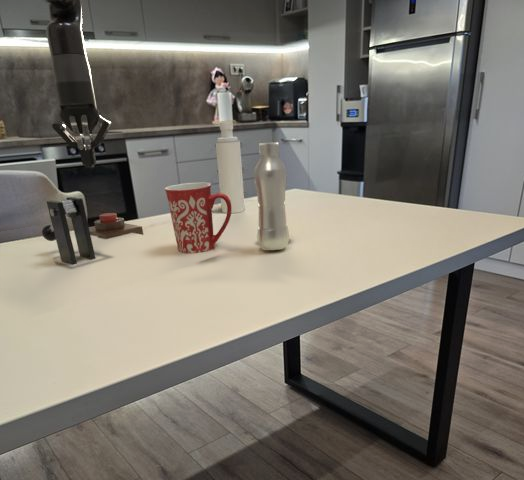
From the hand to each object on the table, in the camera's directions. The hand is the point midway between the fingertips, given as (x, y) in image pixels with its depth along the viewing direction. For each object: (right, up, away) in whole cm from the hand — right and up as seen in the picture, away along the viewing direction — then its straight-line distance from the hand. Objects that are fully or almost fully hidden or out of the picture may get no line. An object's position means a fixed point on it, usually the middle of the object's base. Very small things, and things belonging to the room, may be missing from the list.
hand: (89, 167), depth 110 cm
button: (+2, -11, +6) cm, 13 cm away
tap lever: (0, -18, -15) cm, 23 cm away
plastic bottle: (+42, -22, -12) cm, 48 cm away
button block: (+3, -14, +8) cm, 16 cm away
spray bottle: (+31, -2, +29) cm, 42 cm away
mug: (+28, -23, -12) cm, 38 cm away
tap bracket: (+3, -25, -14) cm, 29 cm away
